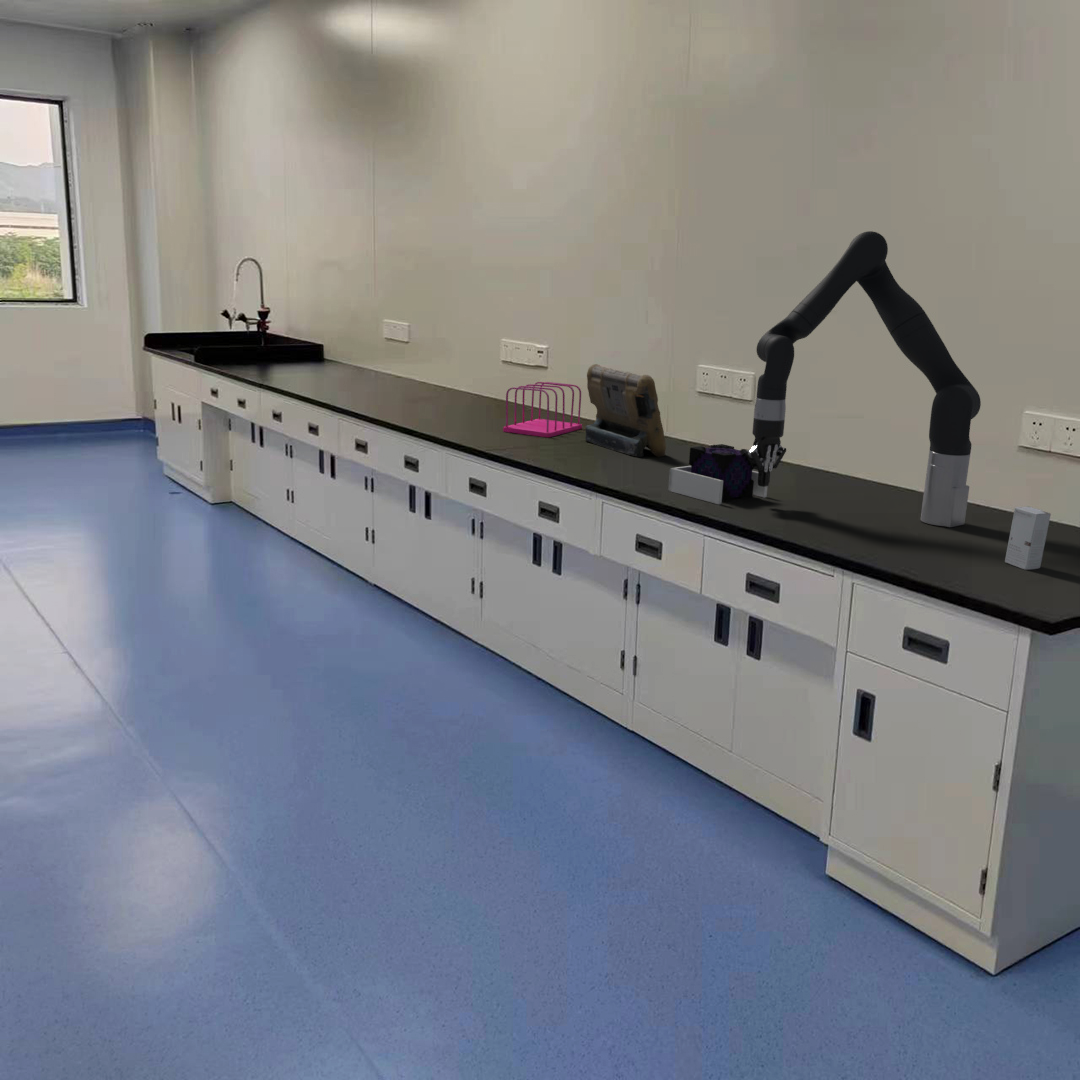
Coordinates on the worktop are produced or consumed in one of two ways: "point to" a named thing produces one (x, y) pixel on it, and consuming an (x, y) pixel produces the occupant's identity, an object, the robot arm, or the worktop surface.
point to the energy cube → (724, 469)
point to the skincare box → (1027, 537)
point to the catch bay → (704, 485)
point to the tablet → (624, 412)
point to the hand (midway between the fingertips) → (763, 485)
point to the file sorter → (540, 425)
